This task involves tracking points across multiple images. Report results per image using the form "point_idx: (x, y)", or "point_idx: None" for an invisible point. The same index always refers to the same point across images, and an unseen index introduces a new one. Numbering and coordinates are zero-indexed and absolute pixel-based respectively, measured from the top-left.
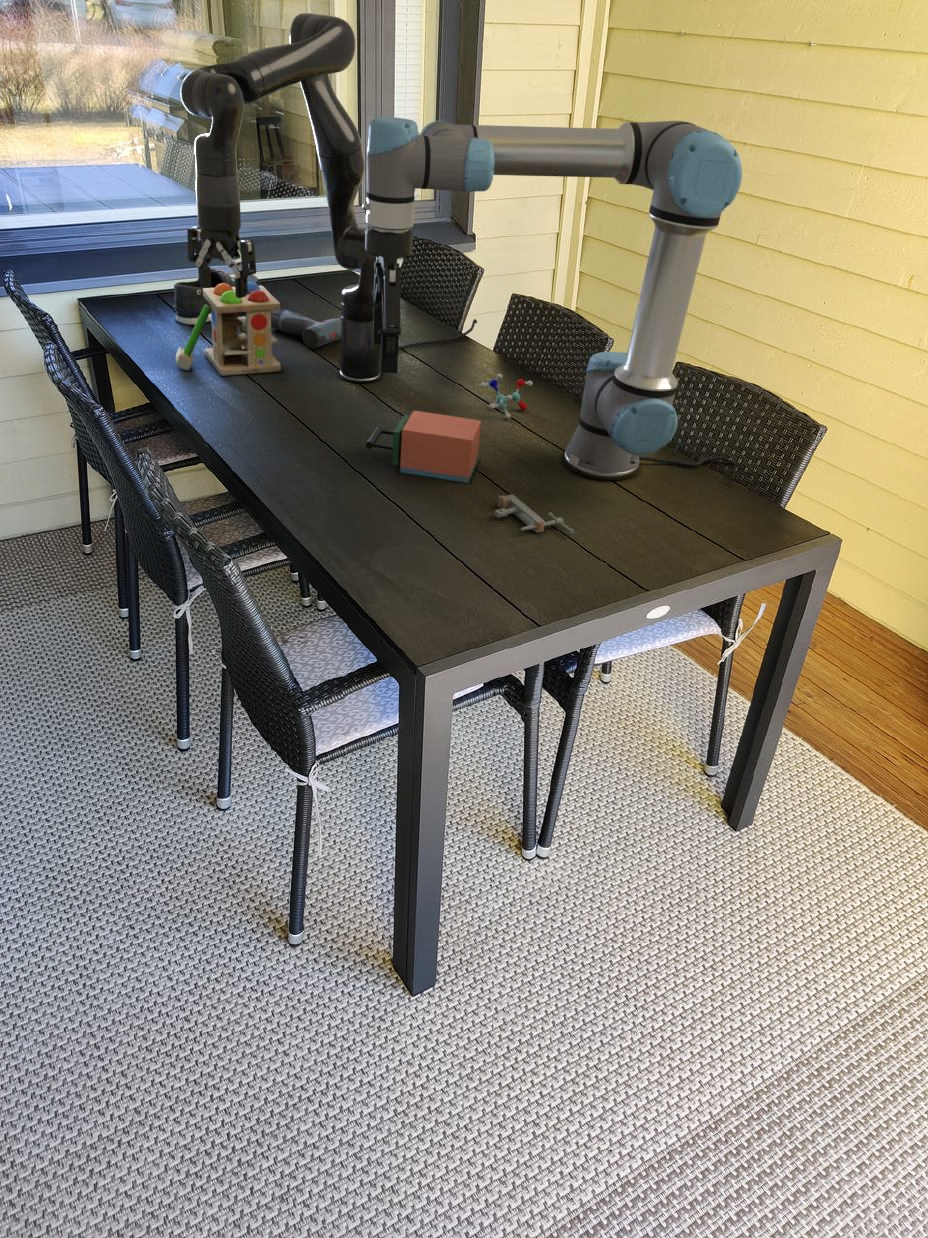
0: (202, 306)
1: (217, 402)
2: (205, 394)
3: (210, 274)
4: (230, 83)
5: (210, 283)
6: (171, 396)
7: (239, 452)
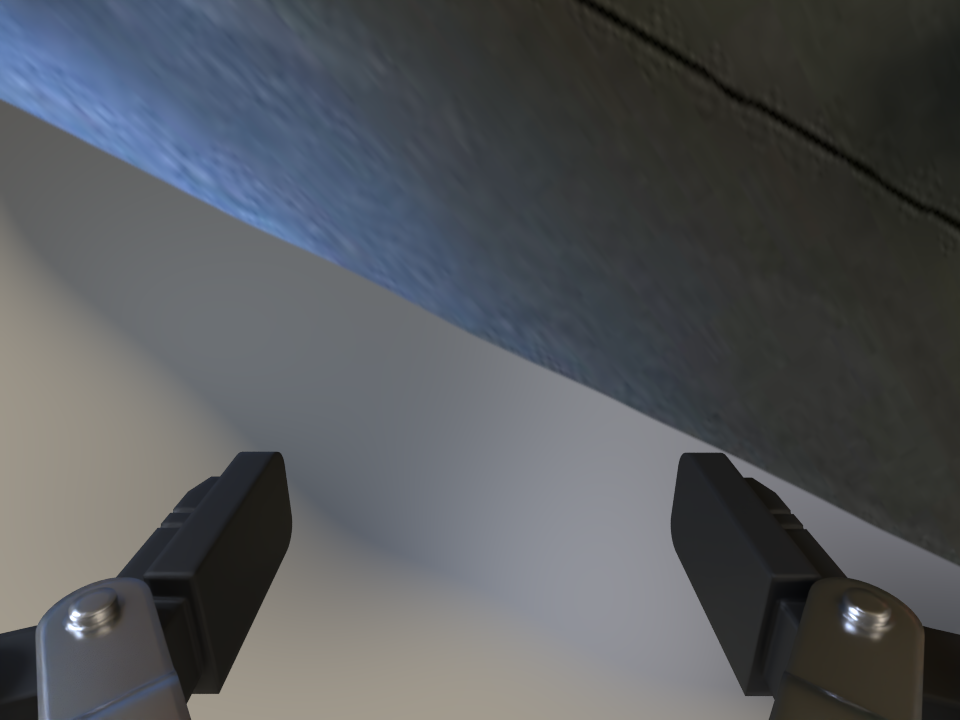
0: None
1: (264, 75)
2: (178, 44)
3: (239, 518)
4: None
5: (271, 468)
6: (123, 146)
7: (578, 327)
